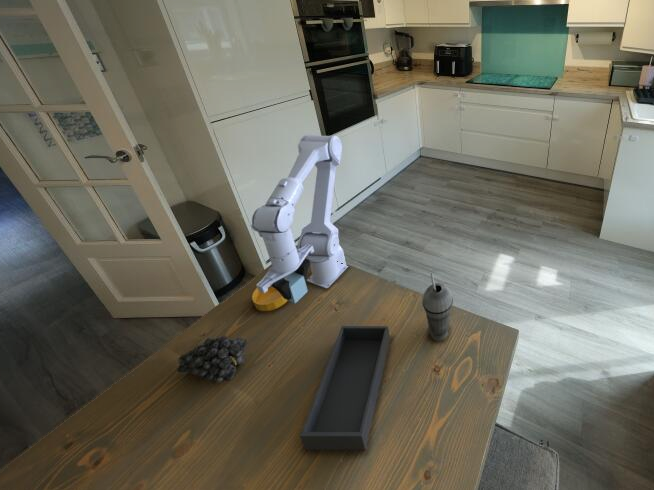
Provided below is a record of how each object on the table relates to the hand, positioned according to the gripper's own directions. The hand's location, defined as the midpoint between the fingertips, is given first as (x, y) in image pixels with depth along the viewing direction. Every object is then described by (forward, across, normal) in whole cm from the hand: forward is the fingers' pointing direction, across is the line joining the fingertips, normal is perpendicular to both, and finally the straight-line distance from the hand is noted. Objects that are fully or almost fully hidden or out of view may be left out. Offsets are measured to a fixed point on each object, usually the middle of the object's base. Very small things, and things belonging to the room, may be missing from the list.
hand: (294, 290), depth 79 cm
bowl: (+9, -1, -12) cm, 15 cm away
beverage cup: (+9, -9, +36) cm, 38 cm away
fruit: (+9, +17, -7) cm, 21 cm away
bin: (+9, +9, +24) cm, 27 cm away
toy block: (+1, 0, 0) cm, 1 cm away
